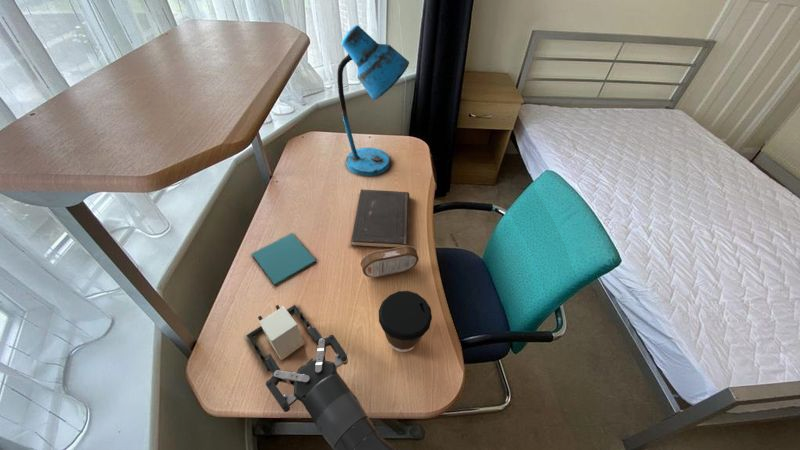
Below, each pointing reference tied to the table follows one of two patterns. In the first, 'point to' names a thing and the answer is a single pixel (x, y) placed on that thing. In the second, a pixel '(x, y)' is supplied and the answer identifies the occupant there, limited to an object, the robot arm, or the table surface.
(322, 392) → the robot arm
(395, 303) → the coffee cup
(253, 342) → the rack
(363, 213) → the hardcover book
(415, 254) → the tin
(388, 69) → the desk lamp
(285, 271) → the mat
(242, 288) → the table surface
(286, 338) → the container
